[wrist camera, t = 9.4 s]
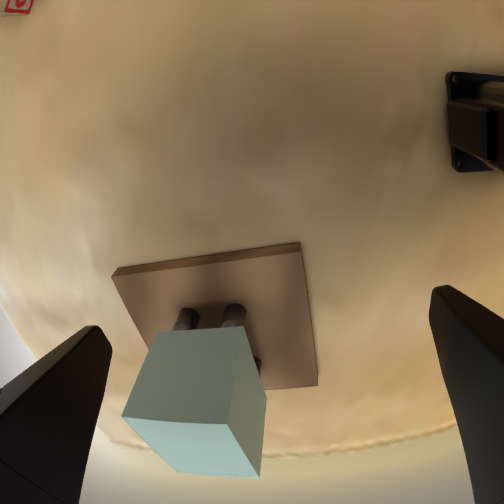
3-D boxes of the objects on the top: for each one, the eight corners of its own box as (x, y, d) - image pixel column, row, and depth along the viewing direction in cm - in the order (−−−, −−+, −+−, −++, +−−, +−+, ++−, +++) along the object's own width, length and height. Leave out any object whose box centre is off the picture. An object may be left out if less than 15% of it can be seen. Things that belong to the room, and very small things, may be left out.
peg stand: (300, 242, 21) (302, 279, 17) (317, 375, 27) (319, 413, 24) (117, 268, 23) (93, 300, 20) (177, 382, 30) (166, 415, 26)
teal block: (243, 325, 19) (226, 424, 13) (266, 398, 23) (259, 477, 17) (157, 331, 20) (121, 416, 14) (195, 399, 24) (176, 472, 18)
